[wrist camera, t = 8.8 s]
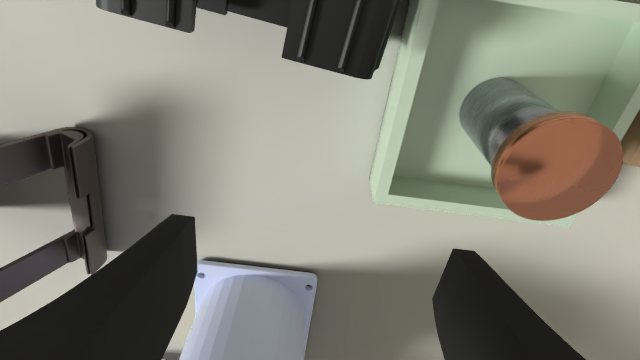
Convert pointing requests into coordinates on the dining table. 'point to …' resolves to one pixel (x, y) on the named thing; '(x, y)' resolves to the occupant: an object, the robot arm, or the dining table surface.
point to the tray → (486, 63)
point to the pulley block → (632, 143)
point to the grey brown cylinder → (539, 150)
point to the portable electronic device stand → (84, 194)
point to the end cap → (291, 26)
